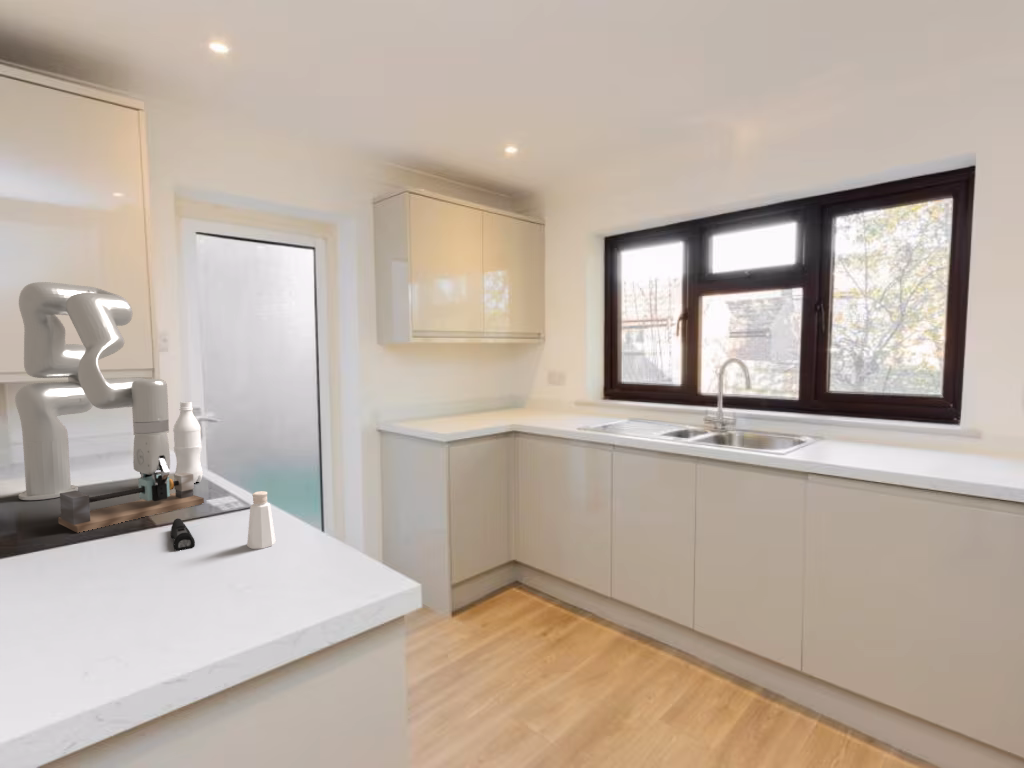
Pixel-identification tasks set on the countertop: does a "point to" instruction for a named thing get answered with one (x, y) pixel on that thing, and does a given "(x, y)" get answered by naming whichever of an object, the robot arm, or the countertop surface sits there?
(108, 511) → the linear slide rail
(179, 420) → the water bottle
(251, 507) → the pepper shaker
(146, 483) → the sleeve
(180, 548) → the electric trimmer
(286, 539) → the countertop surface
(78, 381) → the robot arm
